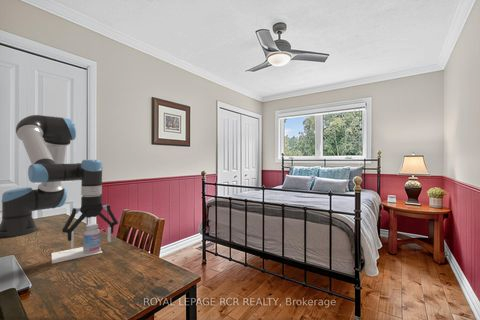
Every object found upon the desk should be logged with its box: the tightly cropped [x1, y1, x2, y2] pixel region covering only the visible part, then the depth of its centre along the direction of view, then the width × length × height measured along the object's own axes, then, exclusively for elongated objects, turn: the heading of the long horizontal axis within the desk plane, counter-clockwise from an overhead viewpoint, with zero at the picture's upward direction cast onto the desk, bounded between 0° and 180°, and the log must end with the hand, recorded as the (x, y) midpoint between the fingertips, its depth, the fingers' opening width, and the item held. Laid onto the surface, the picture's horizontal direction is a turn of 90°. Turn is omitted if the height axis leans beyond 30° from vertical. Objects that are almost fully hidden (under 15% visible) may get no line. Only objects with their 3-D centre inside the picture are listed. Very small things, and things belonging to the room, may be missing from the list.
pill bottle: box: [82, 223, 101, 253], centre depth 102 cm, size 6×6×11 cm
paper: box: [51, 246, 103, 264], centre depth 100 cm, size 12×17×1 cm
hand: (91, 244), depth 102 cm, fingers open, 13 cm apart
